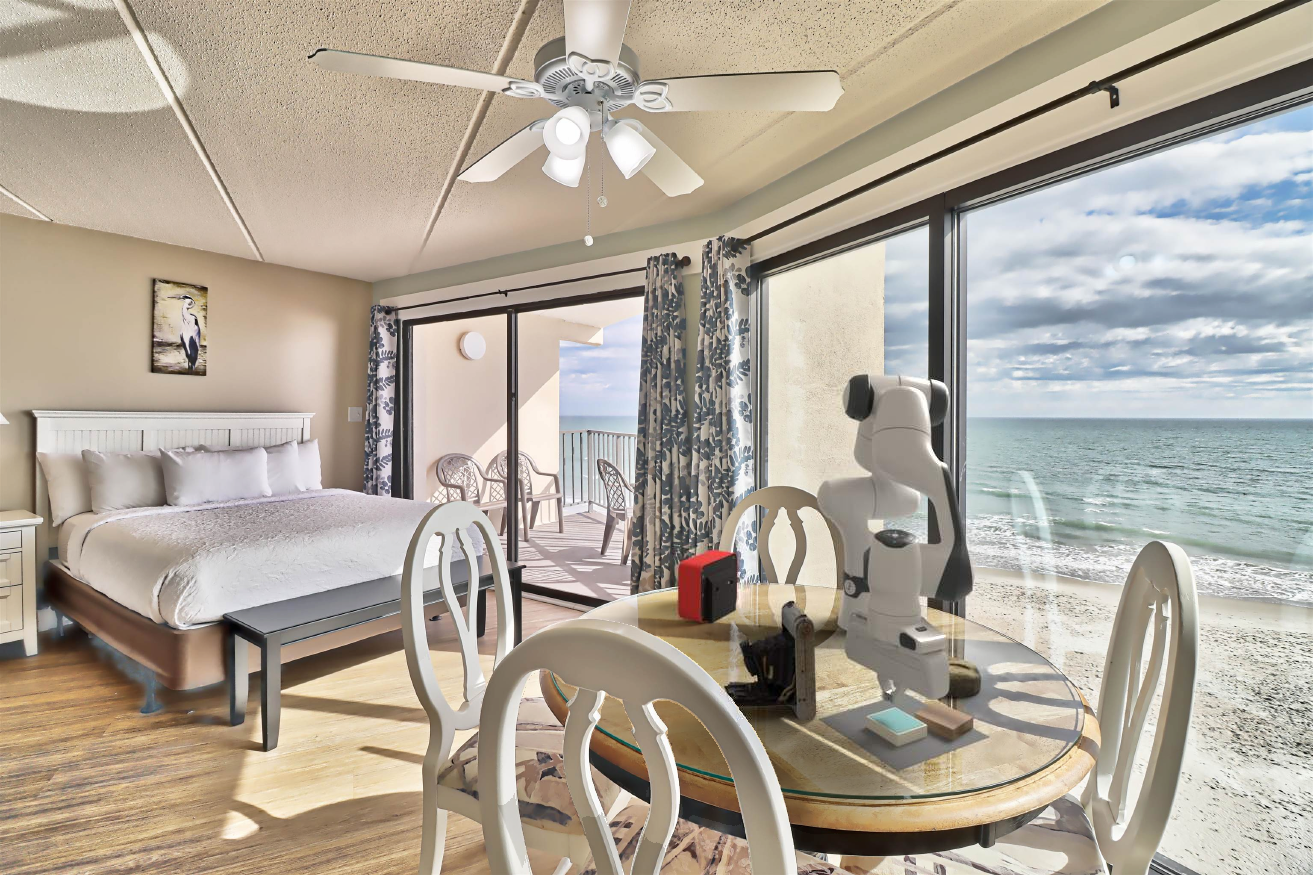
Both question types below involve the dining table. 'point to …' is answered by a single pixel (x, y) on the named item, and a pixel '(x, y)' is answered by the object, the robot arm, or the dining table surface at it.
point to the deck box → (896, 726)
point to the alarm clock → (707, 586)
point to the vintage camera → (781, 667)
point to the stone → (963, 678)
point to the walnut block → (945, 720)
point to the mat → (894, 756)
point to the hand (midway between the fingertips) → (892, 702)
